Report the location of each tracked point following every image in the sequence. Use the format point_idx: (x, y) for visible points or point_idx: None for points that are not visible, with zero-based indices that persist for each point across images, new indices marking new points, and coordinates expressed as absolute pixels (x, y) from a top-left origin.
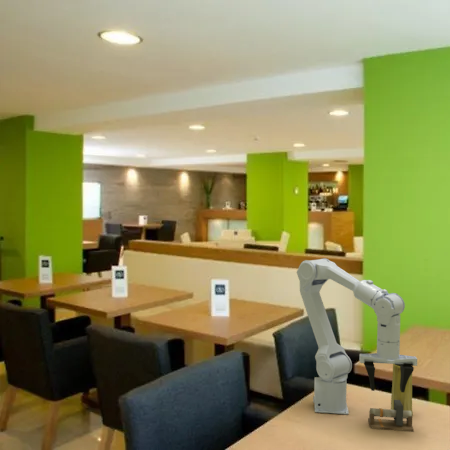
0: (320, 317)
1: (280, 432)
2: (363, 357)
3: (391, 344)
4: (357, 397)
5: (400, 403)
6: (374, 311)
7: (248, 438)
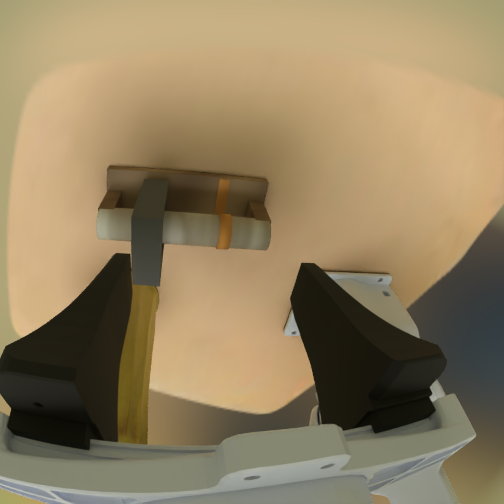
0: None
1: (499, 166)
2: (461, 432)
3: None
4: (234, 366)
5: (137, 250)
6: None
7: None
